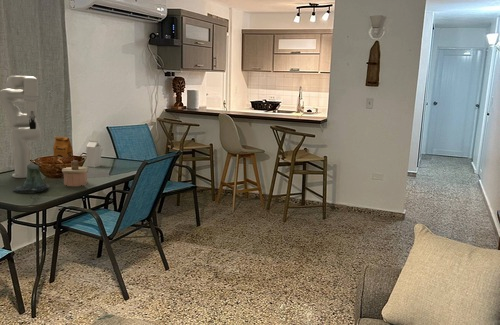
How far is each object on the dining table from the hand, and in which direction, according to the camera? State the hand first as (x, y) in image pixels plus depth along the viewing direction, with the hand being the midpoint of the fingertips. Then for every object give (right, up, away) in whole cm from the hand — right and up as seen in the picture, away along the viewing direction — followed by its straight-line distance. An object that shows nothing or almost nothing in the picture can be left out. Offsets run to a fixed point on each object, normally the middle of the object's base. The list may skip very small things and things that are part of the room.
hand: (32, 127), depth 260 cm
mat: (+26, -29, +35) cm, 52 cm away
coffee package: (-3, -25, +52) cm, 57 cm away
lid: (+21, -26, +10) cm, 35 cm away
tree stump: (+3, -37, -6) cm, 37 cm away
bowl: (+21, -34, +11) cm, 41 cm away
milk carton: (+15, -24, +60) cm, 66 cm away
